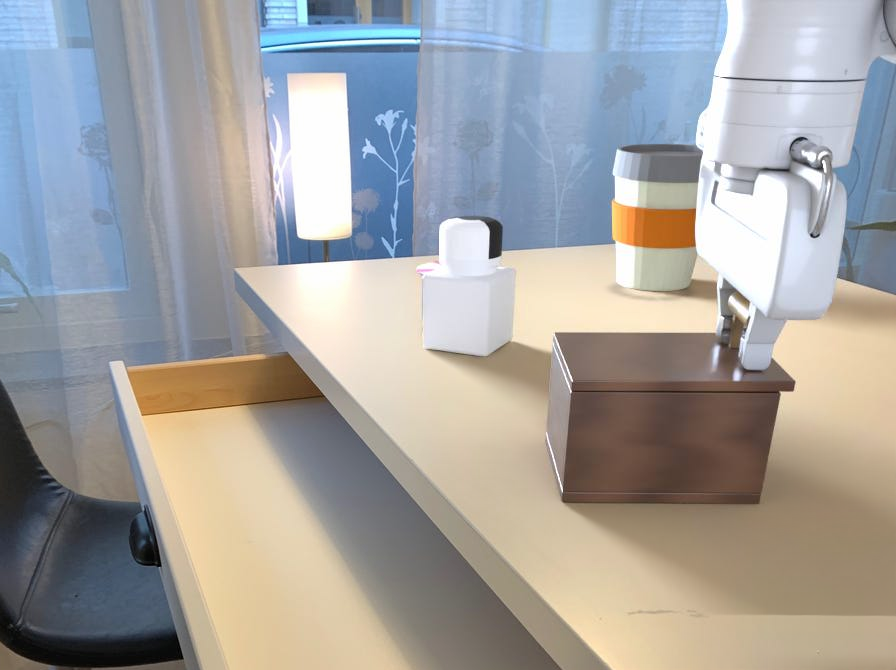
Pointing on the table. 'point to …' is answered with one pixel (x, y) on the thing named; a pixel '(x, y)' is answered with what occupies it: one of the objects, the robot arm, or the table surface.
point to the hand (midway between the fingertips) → (740, 353)
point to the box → (658, 443)
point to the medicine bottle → (468, 290)
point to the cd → (428, 267)
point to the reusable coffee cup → (655, 215)
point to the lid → (666, 360)
